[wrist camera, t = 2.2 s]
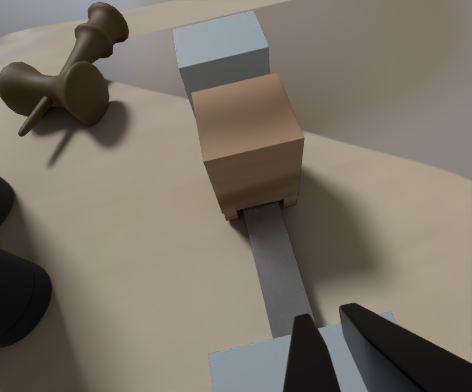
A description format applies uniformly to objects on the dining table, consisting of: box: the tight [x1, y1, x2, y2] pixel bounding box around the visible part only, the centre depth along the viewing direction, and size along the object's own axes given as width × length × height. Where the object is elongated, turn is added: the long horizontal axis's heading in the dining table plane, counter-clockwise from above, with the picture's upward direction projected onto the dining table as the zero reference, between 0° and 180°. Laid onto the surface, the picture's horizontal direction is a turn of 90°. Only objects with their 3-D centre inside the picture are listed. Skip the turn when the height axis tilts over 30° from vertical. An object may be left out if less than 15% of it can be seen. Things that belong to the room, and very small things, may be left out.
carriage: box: [191, 73, 304, 221], centre depth 22 cm, size 6×6×8 cm
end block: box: [173, 11, 270, 118], centre depth 30 cm, size 6×8×6 cm
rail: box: [243, 201, 316, 339], centre depth 25 cm, size 22×3×2 cm, turn 11°
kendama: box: [0, 2, 129, 136], centre depth 34 cm, size 6×10×20 cm
